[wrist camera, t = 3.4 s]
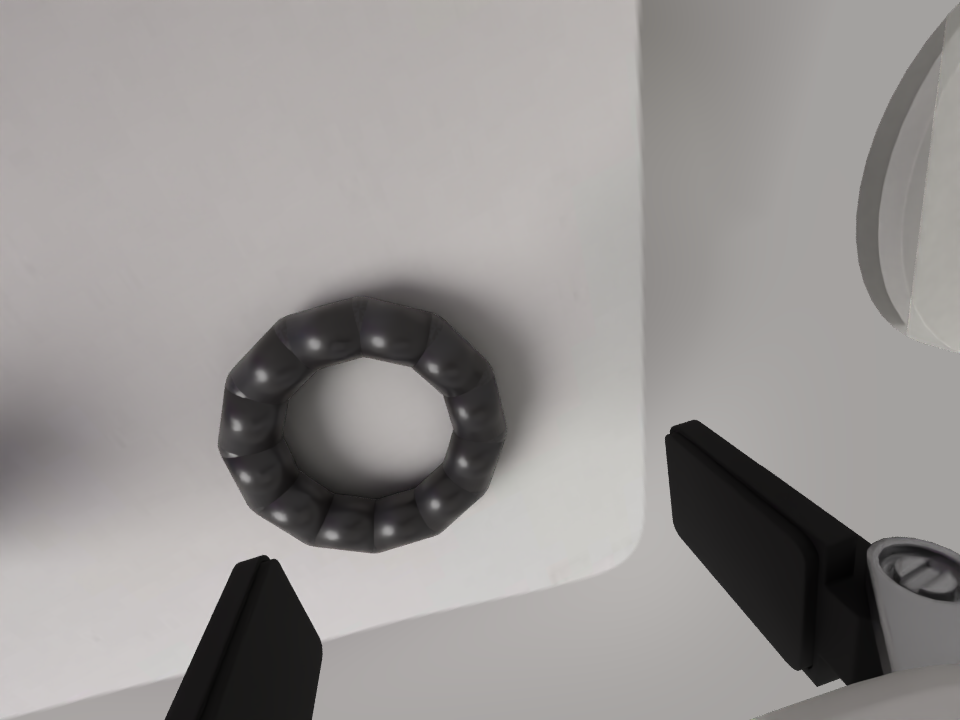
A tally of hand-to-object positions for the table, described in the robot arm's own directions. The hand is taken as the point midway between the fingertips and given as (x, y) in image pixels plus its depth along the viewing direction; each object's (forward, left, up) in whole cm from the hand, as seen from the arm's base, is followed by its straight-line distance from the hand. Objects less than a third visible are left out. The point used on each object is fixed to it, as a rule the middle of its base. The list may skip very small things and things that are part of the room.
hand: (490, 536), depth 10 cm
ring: (+3, 0, -7) cm, 8 cm away
